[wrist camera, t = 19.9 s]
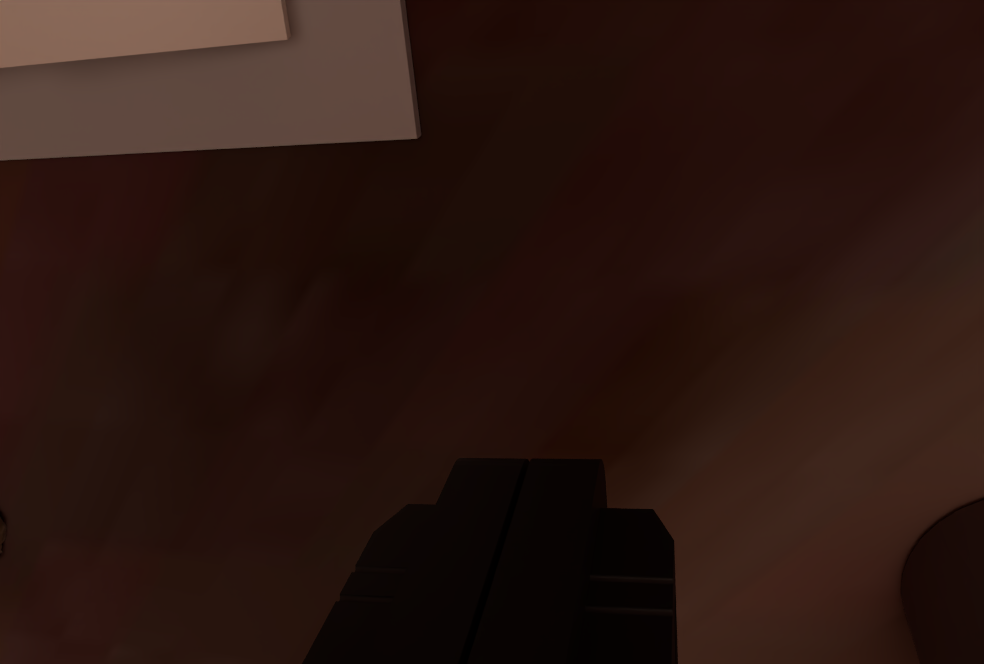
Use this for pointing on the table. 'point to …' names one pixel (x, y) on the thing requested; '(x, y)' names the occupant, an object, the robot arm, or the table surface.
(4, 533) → the pastry
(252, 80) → the grey rubber mat
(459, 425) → the table surface
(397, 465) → the table surface
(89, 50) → the ivory domino
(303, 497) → the table surface
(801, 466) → the table surface
